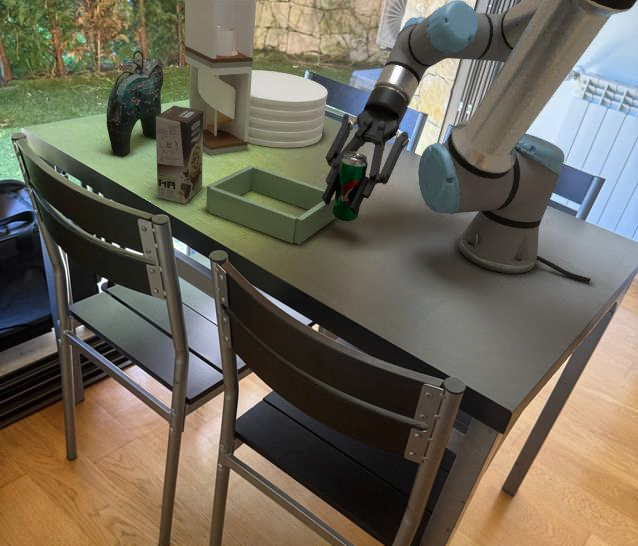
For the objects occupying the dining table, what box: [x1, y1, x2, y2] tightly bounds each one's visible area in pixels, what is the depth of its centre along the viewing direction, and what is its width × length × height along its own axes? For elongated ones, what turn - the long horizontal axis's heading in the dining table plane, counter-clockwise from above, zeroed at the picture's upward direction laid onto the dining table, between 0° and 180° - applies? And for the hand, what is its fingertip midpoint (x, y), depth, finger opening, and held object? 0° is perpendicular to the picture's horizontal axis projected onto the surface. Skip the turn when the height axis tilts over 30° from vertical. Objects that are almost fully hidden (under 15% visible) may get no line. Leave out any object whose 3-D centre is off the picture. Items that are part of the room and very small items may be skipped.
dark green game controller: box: [105, 49, 164, 157], centre depth 136 cm, size 20×6×20 cm, turn 164°
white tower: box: [184, 0, 257, 156], centre depth 138 cm, size 11×11×35 cm
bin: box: [205, 165, 336, 245], centre depth 120 cm, size 21×16×5 cm
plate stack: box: [247, 69, 329, 149], centre depth 160 cm, size 28×28×12 cm
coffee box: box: [155, 105, 204, 205], centre depth 119 cm, size 9×6×16 cm
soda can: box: [332, 151, 369, 222], centre depth 113 cm, size 5×5×12 cm
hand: (339, 205), depth 111 cm, fingers closed on soda can, 5 cm apart
